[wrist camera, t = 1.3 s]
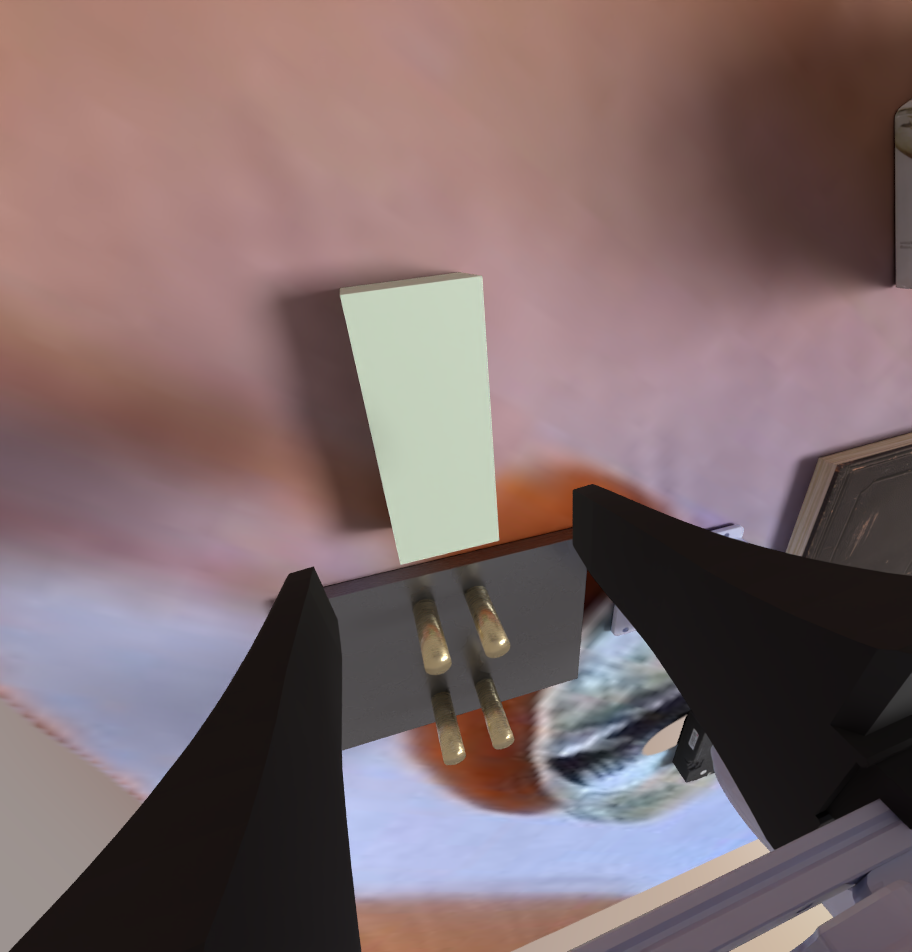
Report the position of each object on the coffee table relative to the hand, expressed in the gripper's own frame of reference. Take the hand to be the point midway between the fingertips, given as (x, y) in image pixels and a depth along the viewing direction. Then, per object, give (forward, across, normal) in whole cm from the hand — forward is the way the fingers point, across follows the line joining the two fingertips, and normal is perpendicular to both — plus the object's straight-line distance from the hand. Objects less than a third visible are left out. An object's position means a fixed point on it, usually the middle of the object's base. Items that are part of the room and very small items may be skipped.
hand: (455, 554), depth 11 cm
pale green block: (+10, -1, 0) cm, 11 cm away
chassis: (+10, 0, +16) cm, 19 cm away
